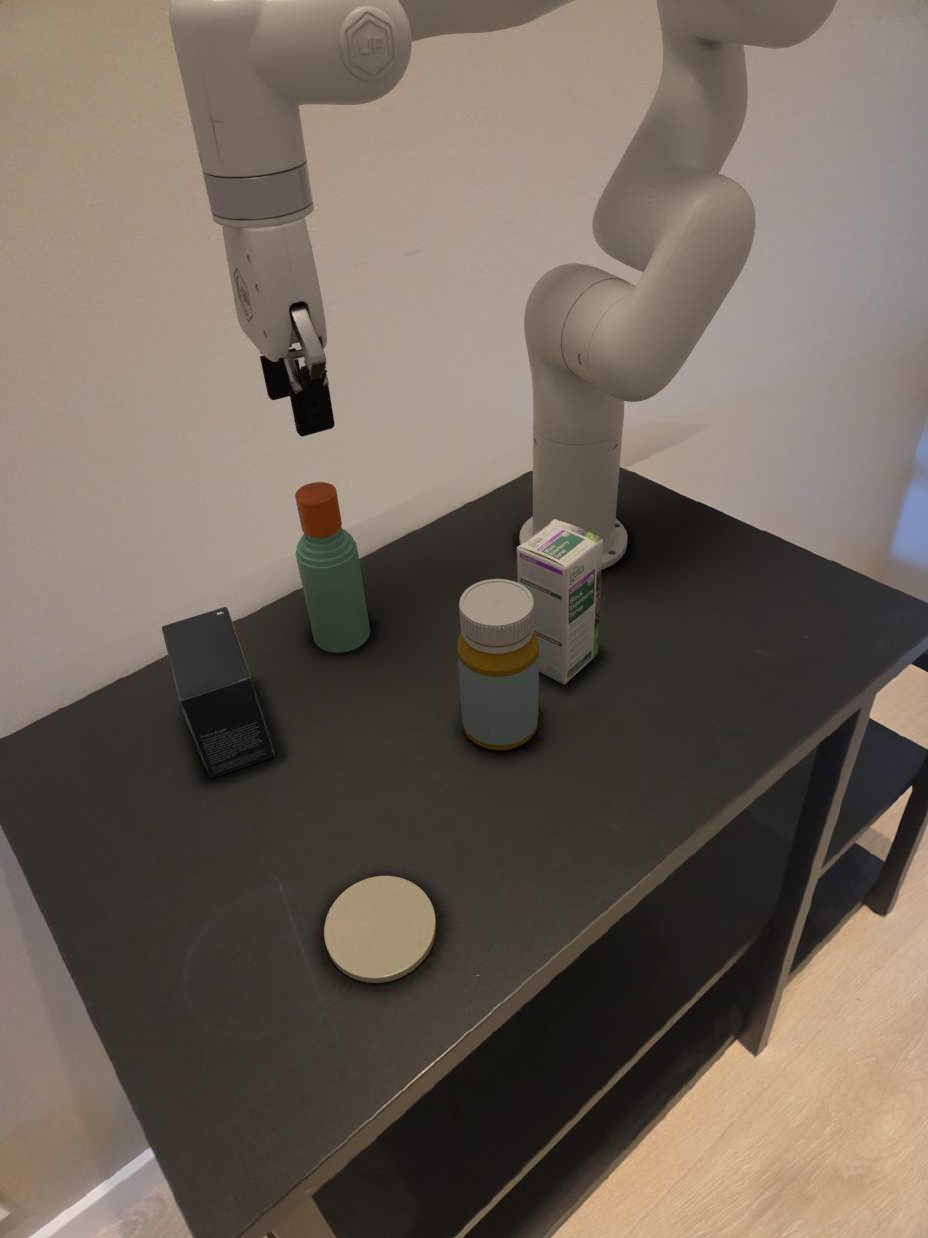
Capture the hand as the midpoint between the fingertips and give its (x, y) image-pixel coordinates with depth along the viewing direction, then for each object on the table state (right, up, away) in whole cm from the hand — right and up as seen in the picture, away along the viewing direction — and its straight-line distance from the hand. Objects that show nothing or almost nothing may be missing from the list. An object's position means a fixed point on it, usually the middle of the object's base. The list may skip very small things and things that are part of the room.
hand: (300, 411), depth 75 cm
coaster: (+8, -42, -10) cm, 43 cm away
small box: (-8, -29, +7) cm, 31 cm away
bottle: (+18, -28, +6) cm, 34 cm away
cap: (+1, -9, +8) cm, 12 cm away
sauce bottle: (+1, -20, +17) cm, 26 cm away
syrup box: (+24, -22, +12) cm, 35 cm away
